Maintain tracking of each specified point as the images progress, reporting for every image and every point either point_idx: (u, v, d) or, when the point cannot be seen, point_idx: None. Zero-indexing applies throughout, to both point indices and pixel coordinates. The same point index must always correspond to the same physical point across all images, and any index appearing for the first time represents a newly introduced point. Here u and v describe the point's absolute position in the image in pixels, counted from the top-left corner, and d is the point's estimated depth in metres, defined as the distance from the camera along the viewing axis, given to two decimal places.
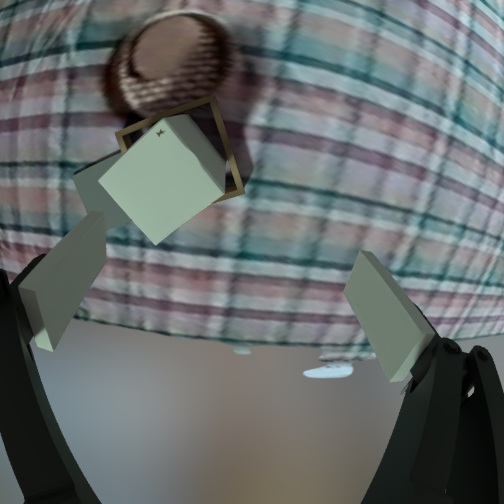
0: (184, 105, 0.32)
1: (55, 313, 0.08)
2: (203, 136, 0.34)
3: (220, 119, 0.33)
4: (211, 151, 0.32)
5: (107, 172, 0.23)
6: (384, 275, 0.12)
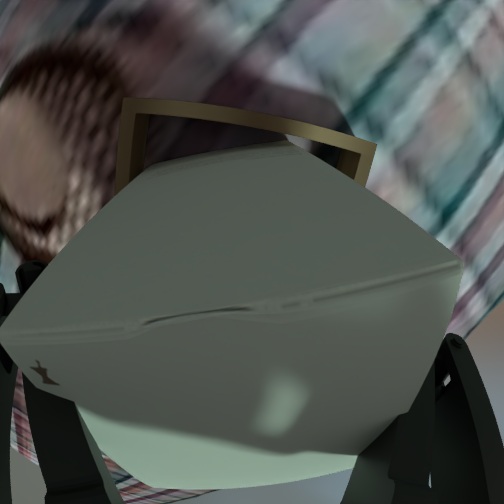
0: (118, 168, 0.14)
1: None
2: (205, 159, 0.14)
3: (186, 104, 0.13)
4: (247, 163, 0.11)
5: (140, 479, 0.07)
6: None
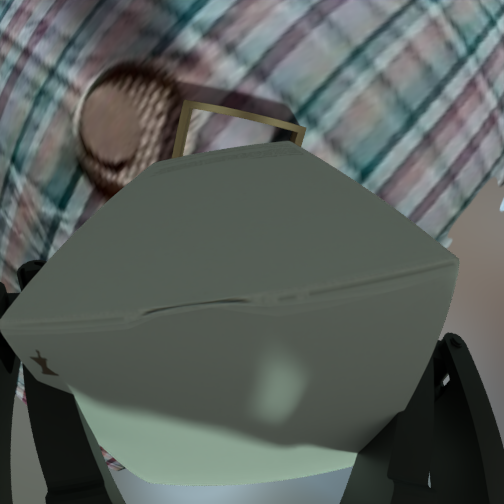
0: (178, 133, 0.29)
1: None
2: (208, 158, 0.14)
3: (214, 106, 0.28)
4: (249, 162, 0.11)
5: (137, 474, 0.07)
6: None
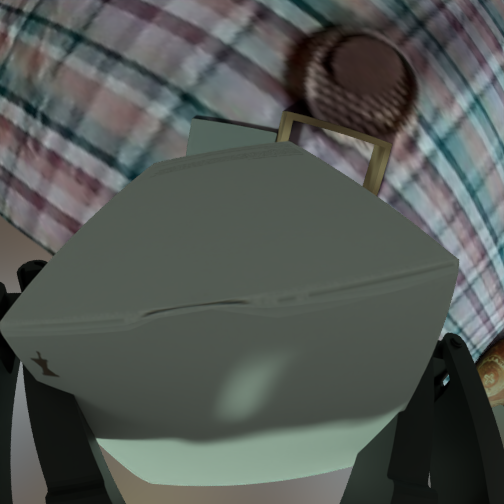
0: (366, 136, 0.30)
1: None
2: (208, 158, 0.14)
3: (384, 168, 0.32)
4: (249, 162, 0.11)
5: (137, 474, 0.07)
6: None
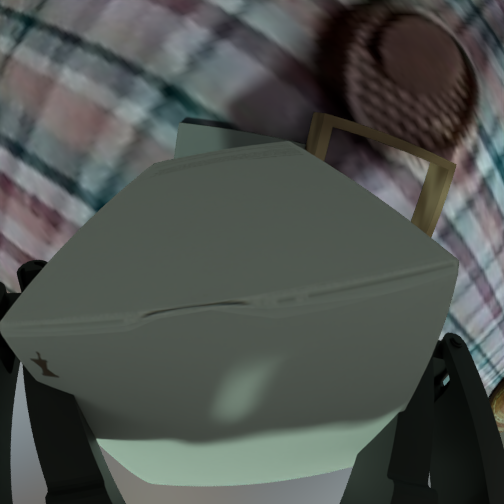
0: (427, 153, 0.20)
1: None
2: (207, 158, 0.14)
3: (444, 197, 0.22)
4: (249, 162, 0.11)
5: (137, 475, 0.07)
6: None
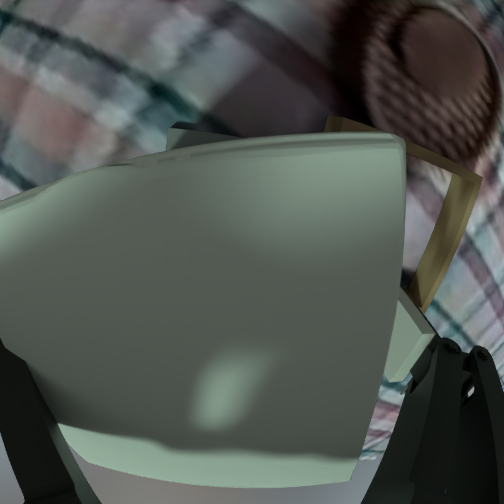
0: (454, 165, 0.17)
1: None
2: None
3: (469, 214, 0.19)
4: None
5: (70, 443, 0.06)
6: None
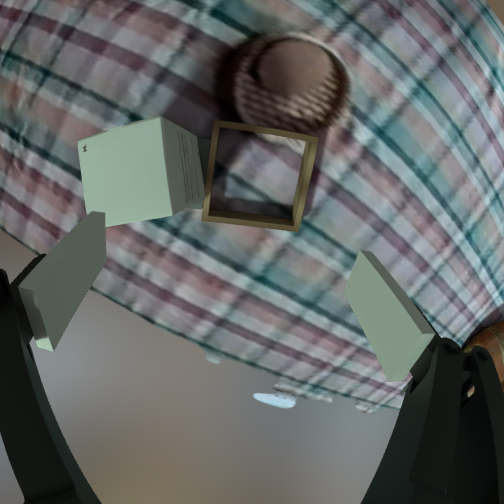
0: (290, 133, 0.35)
1: (55, 313, 0.08)
2: None
3: (312, 161, 0.37)
4: None
5: None
6: (384, 275, 0.12)
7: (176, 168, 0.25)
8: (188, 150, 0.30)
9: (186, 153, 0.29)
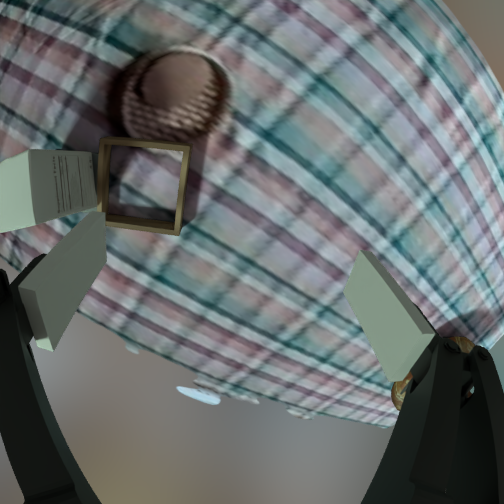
0: (162, 144, 0.37)
1: (55, 313, 0.08)
2: None
3: (185, 169, 0.39)
4: None
5: None
6: (384, 275, 0.12)
7: (44, 187, 0.27)
8: (69, 168, 0.32)
9: (65, 171, 0.31)
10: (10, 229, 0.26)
